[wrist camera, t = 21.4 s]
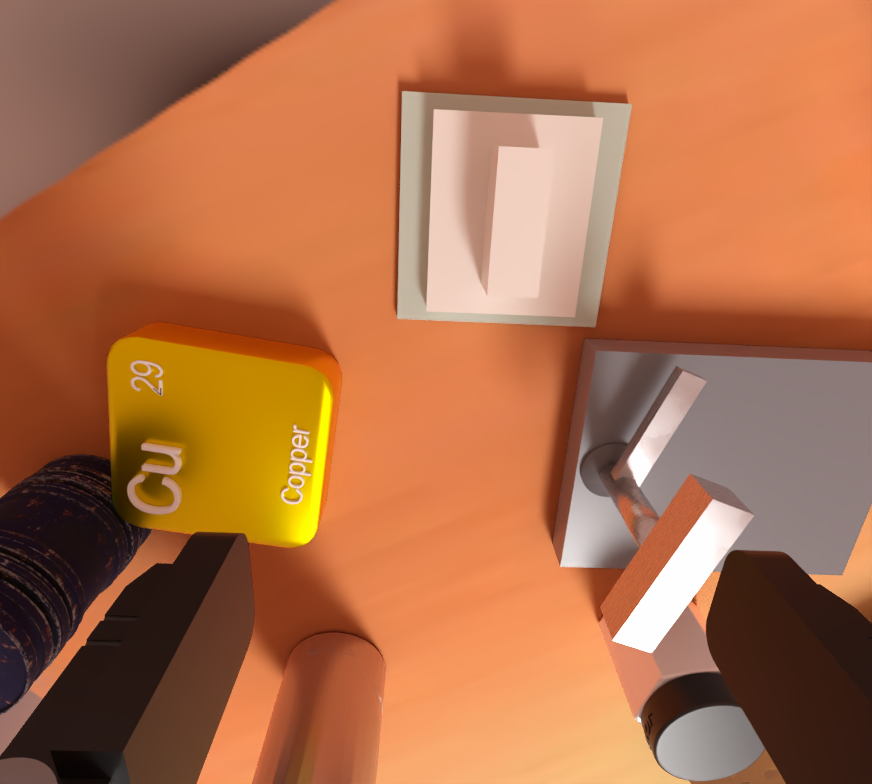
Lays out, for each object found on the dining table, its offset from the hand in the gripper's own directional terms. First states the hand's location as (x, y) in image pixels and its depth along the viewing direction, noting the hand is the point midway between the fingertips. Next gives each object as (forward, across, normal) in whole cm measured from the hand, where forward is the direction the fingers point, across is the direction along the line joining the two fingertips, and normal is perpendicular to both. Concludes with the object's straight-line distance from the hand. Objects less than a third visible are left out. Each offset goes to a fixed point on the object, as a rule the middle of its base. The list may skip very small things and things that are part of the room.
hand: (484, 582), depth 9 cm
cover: (+30, -4, -4) cm, 30 cm away
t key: (+27, -14, +11) cm, 32 cm away
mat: (+30, -4, -4) cm, 31 cm away
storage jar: (+30, +27, +20) cm, 45 cm away
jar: (+30, -20, +30) cm, 47 cm away
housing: (+30, -22, +13) cm, 39 cm away
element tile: (+31, +15, +12) cm, 36 cm away
